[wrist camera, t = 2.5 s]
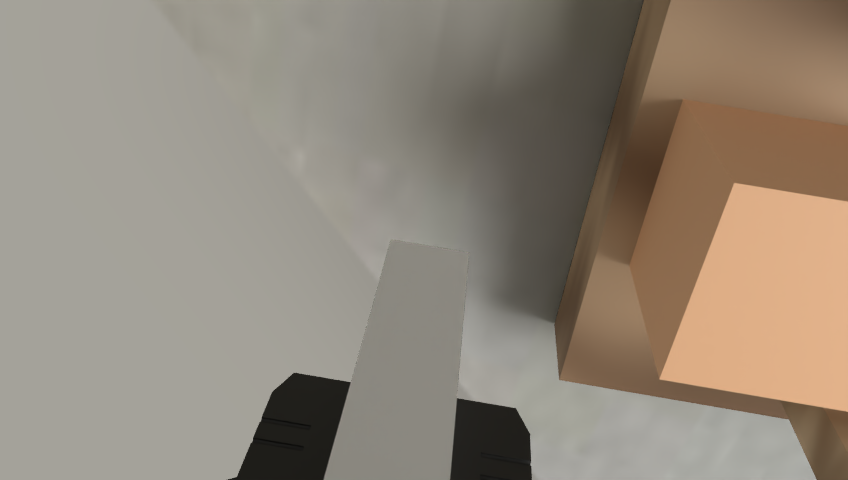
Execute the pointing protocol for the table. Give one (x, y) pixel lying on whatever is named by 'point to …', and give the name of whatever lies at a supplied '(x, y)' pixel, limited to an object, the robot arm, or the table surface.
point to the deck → (641, 162)
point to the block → (749, 256)
